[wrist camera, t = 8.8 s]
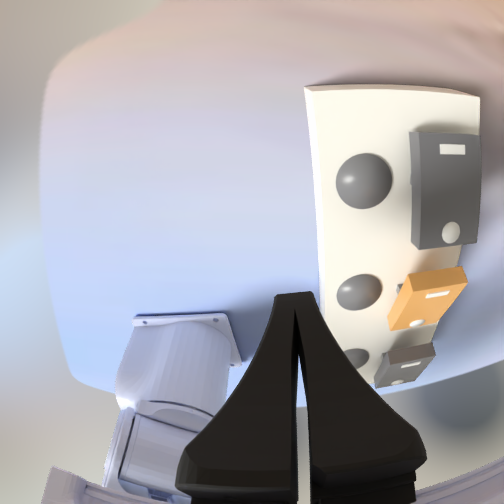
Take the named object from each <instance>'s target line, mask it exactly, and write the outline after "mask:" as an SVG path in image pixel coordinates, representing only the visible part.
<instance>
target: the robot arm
mask: <svg viewBox="0 0 504 504" xmlns="http://www.w3.org/2000/svg"><path fill="white" fill-rule="evenodd" d="M215 318H217V319H215ZM132 323H133V325H134V329H133V332H132V334H131V337H130V339H129V342H128V345H127V347H126V350H125V352H124V355H123V358H122V360H121V363H120V366H119V368H118V371H117V375H116V381H115V393H116V398H117V402H118V404H119V406H120V408H121V411H120V413H119V416H118V420H117V423H116V427H115V430H114V433H113V437H112V440H111V444H110V447H109V451H108V455H107V459H106V463H105V466H104V469H105V473H104V477H103V481H102V486H100V485H97V484H94V483H91V482H88V481H86V480H85V479H83V478H81V477H79V476H77V475H75V474H73V473H70V472H68V471H65V470H63V469H60V468H58V467H55V466H51V469H50V473H49V476H48V479H47V483H46V487H45V490H44V494H43V498H42V502H41V504H297V501H298V457H297V456H298V455H297V423H296V400H297V381H298V357H299V358H300V364H301V370H302V377H303V383H304V389H305V395H306V402H307V411H308V430H309V455H310V502H311V503H310V504H504V456H503V457H501V458H499V459H497V460H495V461H493V462H491V463H489V464H487V465H484V466H482V467H480V468H478V469H475V470H473V471H471V472H468V473H466V474H463V475H461V476H458V477H455V478H453V479H450V480H447V481H444V482H442V483H439V484H436V485H433V486H429V487H426V488H423V489H420V490H416V491H415V486H414V482H415V481H416V473H415V470H416V469H418V468H419V467H420V466H421V465H422V464H424V462H425V461H426V460H427V456H426V450H425V447H424V444H423V442H422V439H421V437H420V435H419V433H418V431H417V430H416V429H415V428H414V427H413V426H412V425H410V424H409V423H408V422H407V421H406V420H404V419H403V418H402V417H401V416H400V415H399V414H397V413H396V412H395V411H394V410H393V409H392V408H391V407H390V406H389V405H388V404H387V403H386V402H385V401H384V400H383V399H382V398H381V397H380V396H379V395H378V394H377V393H376V392H375V391H374V390H373V388H372V387H371V386H370V385H369V384H368V383H367V382H366V381H365V379H364V378H363V377H362V376H361V375H360V373H359V372H358V371H357V370H356V368H355V367H354V366H353V364H352V363H351V362H350V360H349V359H348V358H347V356H346V355H345V353H344V352H343V350H342V349H341V347H340V346H339V344H338V343H337V341H336V340H335V338H334V336H333V335H332V333H331V331H330V329H329V328H328V326H327V324H326V322H325V320H324V318H323V316H322V314H321V312H320V310H319V308H318V306H317V303H316V300H315V298H314V294H313V293H312V292H311V291H308V292H298V293H287V294H277V295H276V296H275V297H274V303H273V308H272V312H271V315H270V318H269V321H268V324H267V327H266V330H265V332H264V335H263V337H262V340H261V342H260V344H259V347H258V349H257V351H256V353H255V355H254V357H253V359H252V361H251V363H250V365H249V367H248V369H247V370H246V372H245V374H244V375H243V377H242V379H241V380H240V382H239V384H238V385H237V387H236V388H235V390H234V391H233V393H232V394H231V395H230V397H229V398H228V400H227V401H226V393H227V385H228V376H229V367H240V366H242V360H241V357H240V354H239V351H238V348H237V345H236V342H235V339H234V336H233V333H232V329H231V326H230V323H229V320H228V317H227V315H226V314H224V313H214V314H195V315H172V316H140V317H133V318H132Z"/></svg>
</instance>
